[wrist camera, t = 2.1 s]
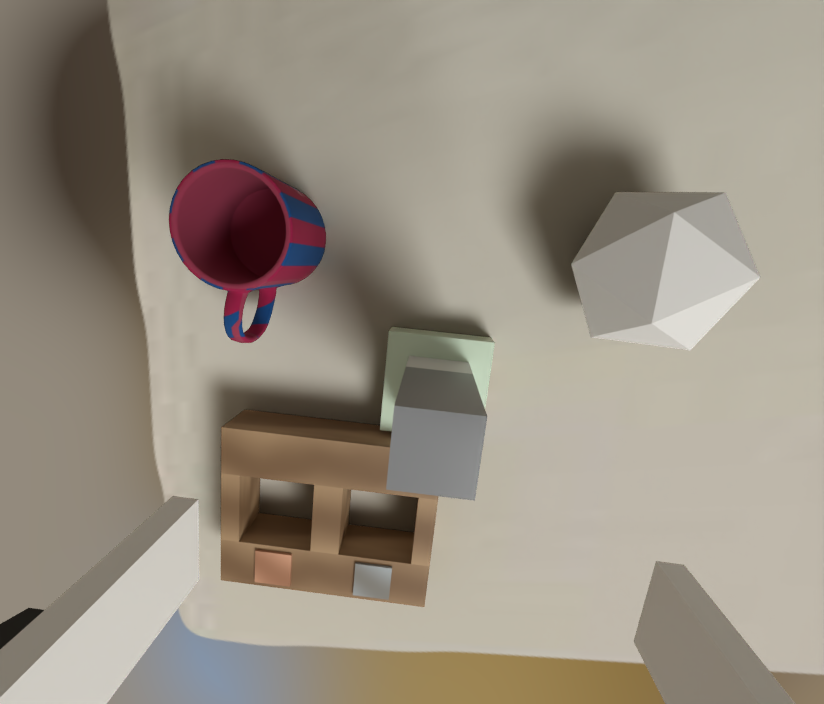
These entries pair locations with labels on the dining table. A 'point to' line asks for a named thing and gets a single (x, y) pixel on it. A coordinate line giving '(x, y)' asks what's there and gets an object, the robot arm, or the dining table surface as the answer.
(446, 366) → the plug
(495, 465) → the dining table surface
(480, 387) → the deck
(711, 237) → the die
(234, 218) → the mug
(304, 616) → the dining table surface
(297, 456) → the socket block
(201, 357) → the dining table surface
